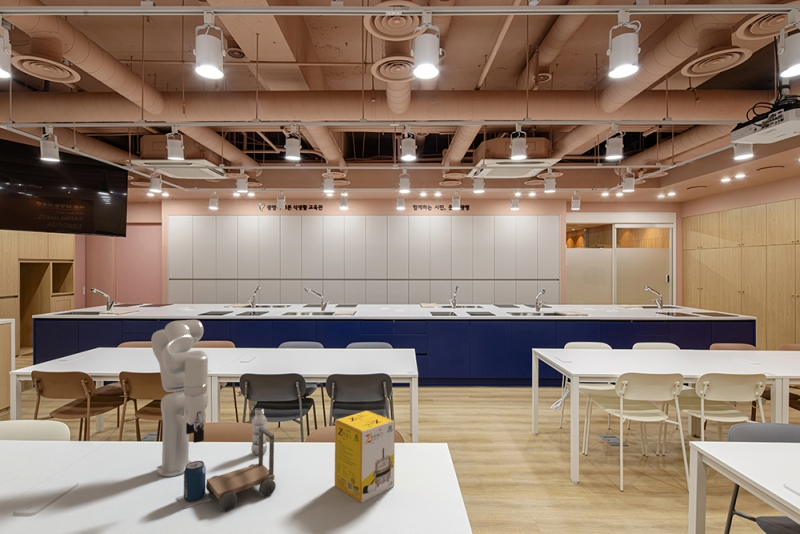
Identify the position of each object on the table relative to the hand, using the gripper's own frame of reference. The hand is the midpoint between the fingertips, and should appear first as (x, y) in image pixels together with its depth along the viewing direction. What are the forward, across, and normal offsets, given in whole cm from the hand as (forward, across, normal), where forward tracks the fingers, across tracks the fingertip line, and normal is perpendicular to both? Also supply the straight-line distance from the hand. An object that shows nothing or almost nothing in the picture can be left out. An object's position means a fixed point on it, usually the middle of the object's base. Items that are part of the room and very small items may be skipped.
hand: (194, 437), depth 145 cm
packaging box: (+22, +33, +52) cm, 65 cm away
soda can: (+22, 0, 0) cm, 22 cm away
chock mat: (+22, 0, 0) cm, 22 cm away
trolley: (+22, +8, +14) cm, 27 cm away
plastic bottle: (+22, -20, +32) cm, 44 cm away
